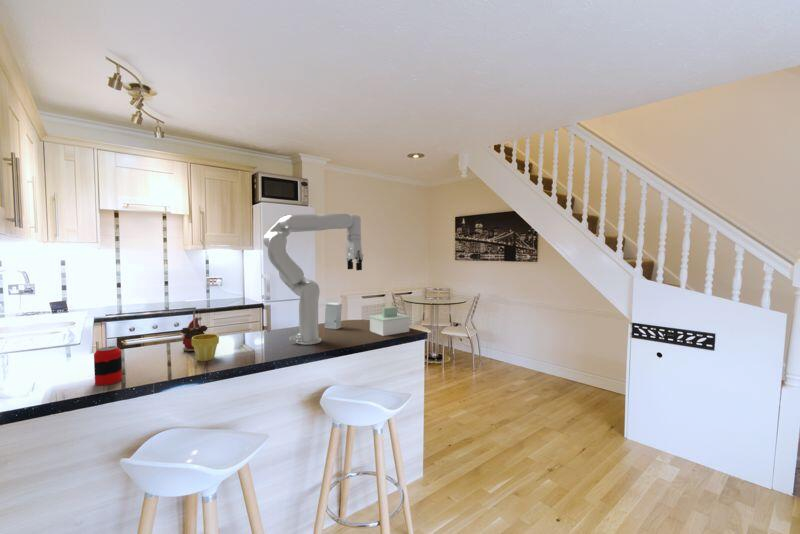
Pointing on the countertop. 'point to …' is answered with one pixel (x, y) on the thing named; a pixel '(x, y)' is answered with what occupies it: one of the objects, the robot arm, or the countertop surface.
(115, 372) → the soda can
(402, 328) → the tub
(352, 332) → the countertop surface
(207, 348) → the plant pot
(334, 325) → the skincare box
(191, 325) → the dark red figurine
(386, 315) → the lid
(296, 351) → the countertop surface
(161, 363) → the countertop surface
